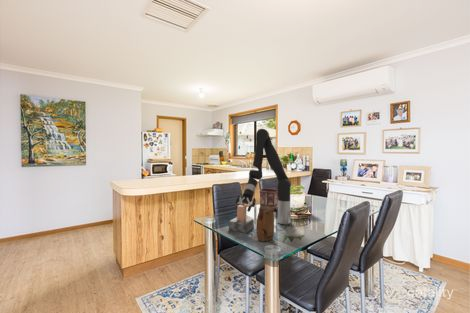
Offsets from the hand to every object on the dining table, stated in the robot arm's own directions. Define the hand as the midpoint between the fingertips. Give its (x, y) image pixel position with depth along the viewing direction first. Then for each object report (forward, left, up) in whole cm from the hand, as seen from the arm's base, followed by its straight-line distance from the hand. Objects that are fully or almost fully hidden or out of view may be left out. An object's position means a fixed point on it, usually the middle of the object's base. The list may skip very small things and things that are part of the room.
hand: (242, 210), depth 160 cm
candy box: (-30, -59, -13) cm, 68 cm away
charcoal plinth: (0, +1, -13) cm, 13 cm away
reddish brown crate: (0, -57, -13) cm, 59 cm away
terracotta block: (0, +1, -7) cm, 7 cm away
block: (-21, +11, -13) cm, 27 cm away
